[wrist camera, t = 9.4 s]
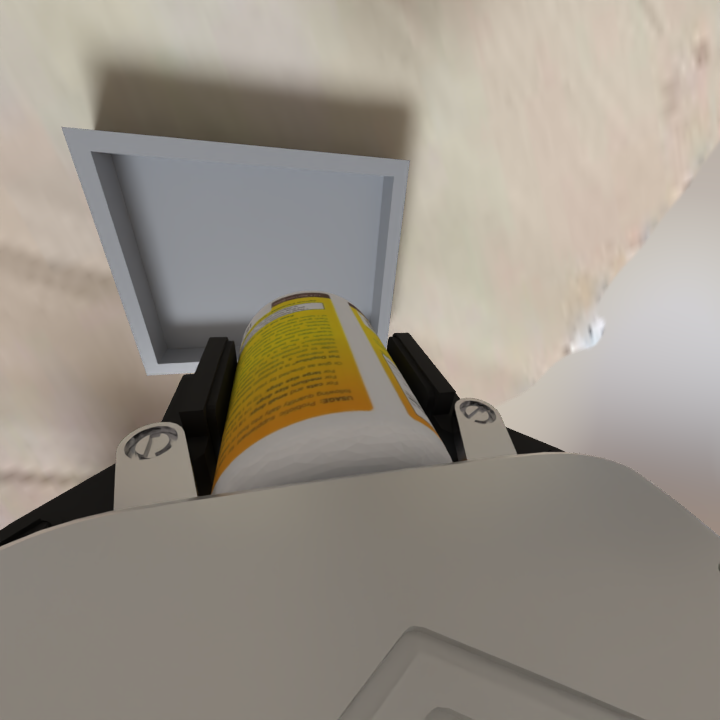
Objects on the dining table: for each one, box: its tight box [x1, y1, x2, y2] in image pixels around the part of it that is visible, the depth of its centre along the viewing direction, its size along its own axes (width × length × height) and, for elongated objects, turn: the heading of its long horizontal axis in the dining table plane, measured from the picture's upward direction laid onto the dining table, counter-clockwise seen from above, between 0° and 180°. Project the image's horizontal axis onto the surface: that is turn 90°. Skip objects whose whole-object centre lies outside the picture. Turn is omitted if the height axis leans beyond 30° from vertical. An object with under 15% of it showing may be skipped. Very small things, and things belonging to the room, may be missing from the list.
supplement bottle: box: [211, 291, 452, 495], centre depth 9 cm, size 6×6×10 cm
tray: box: [62, 127, 410, 376], centre depth 24 cm, size 16×20×4 cm
